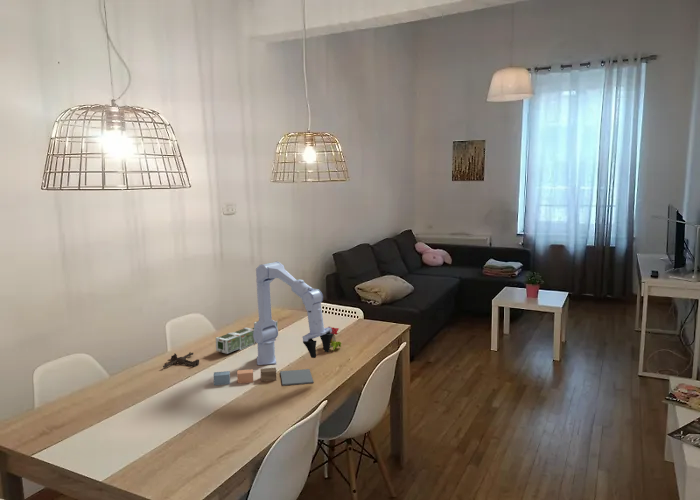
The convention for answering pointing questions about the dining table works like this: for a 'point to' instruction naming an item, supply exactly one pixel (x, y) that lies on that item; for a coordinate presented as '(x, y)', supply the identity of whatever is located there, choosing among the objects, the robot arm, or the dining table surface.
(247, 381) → the terracotta brick
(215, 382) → the slate blue brick
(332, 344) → the bird rattle
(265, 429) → the dining table surface
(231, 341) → the green white framed bar
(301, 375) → the grey flat square slab
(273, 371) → the walnut brick
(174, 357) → the dark action figure
